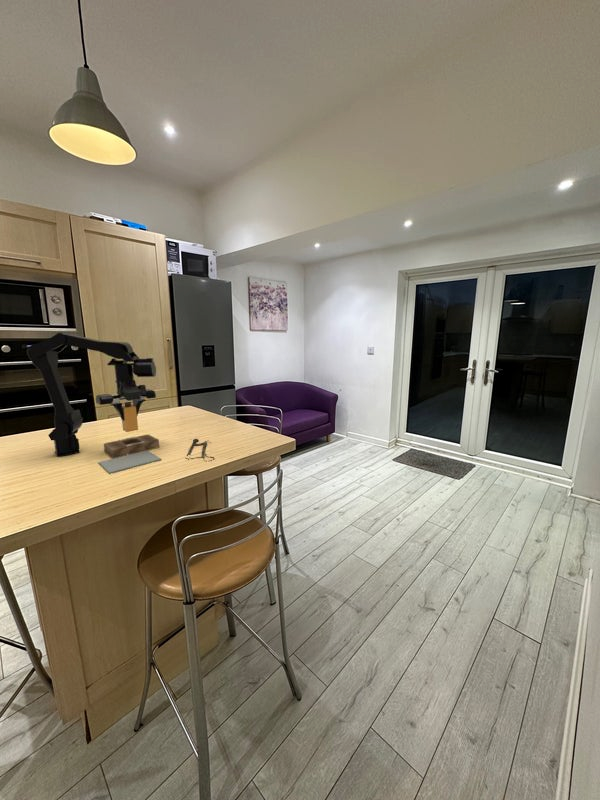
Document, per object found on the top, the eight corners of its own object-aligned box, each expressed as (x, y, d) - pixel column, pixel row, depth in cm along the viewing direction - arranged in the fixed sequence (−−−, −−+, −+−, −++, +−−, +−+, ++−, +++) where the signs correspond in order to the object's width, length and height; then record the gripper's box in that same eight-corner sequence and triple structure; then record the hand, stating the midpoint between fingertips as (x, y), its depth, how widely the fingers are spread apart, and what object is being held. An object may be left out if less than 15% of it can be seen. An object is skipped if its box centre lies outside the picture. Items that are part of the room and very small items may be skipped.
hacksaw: (193, 441, 131) (193, 438, 131) (219, 440, 133) (219, 436, 132) (182, 464, 108) (182, 459, 107) (214, 461, 109) (213, 457, 109)
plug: (126, 432, 117) (123, 403, 115) (123, 430, 120) (119, 402, 118) (138, 429, 120) (135, 402, 118) (134, 427, 123) (131, 400, 120)
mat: (109, 474, 99) (109, 472, 99) (98, 463, 107) (98, 462, 107) (161, 460, 110) (161, 458, 110) (147, 451, 118) (147, 450, 118)
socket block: (113, 458, 112) (112, 449, 111) (104, 451, 119) (103, 442, 118) (159, 447, 123) (158, 438, 123) (148, 441, 130) (148, 433, 130)
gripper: (102, 382, 104) (108, 428, 107) (160, 376, 117) (163, 418, 120) (92, 379, 112) (98, 422, 115) (148, 374, 125) (151, 413, 128)
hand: (129, 419), depth 119 cm, fingers closed on plug, 4 cm apart
